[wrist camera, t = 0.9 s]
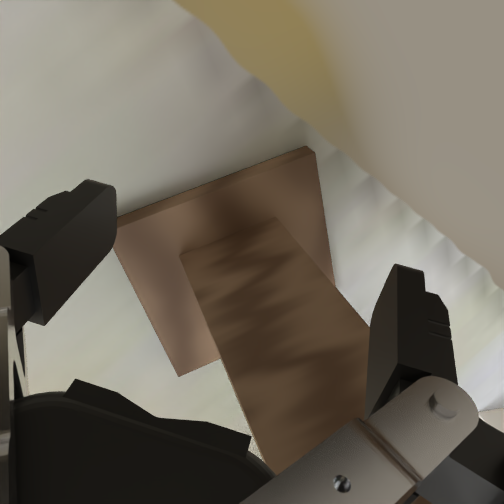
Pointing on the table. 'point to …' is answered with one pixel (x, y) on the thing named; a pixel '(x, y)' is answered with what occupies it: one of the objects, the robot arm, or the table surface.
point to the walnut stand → (254, 300)
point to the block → (494, 418)
